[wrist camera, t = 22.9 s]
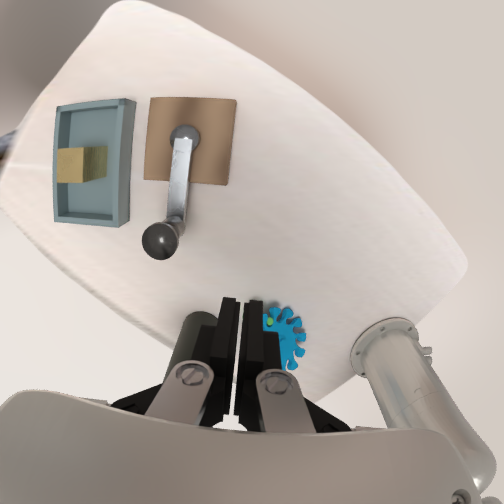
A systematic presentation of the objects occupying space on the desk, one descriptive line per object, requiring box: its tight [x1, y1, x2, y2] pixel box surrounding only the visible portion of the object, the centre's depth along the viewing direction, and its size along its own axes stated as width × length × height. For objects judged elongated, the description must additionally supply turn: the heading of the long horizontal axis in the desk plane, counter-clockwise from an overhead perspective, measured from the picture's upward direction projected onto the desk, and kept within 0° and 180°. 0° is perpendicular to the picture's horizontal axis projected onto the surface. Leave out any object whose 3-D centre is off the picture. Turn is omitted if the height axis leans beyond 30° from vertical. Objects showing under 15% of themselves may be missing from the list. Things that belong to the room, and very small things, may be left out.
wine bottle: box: [163, 312, 218, 383], centre depth 27 cm, size 6×6×30 cm
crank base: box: [144, 97, 237, 185], centre depth 31 cm, size 10×10×2 cm
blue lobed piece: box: [263, 307, 306, 371], centre depth 39 cm, size 11×6×10 cm
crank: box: [142, 125, 200, 260], centre depth 28 cm, size 13×4×7 cm, turn 171°
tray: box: [53, 98, 136, 228], centre depth 31 cm, size 11×16×4 cm
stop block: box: [57, 146, 108, 183], centre depth 29 cm, size 4×4×6 cm
